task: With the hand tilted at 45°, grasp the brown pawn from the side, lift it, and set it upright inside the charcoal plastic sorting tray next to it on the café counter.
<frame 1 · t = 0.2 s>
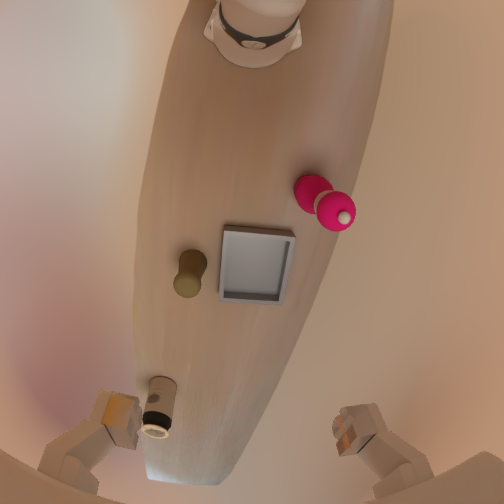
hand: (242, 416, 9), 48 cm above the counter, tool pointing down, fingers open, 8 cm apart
brown pawn: (193, 262, 59), on the counter
sorting tray: (254, 263, 60), on the counter
pepper mill: (308, 190, 55), on the counter
travel mug: (164, 383, 75), on the counter
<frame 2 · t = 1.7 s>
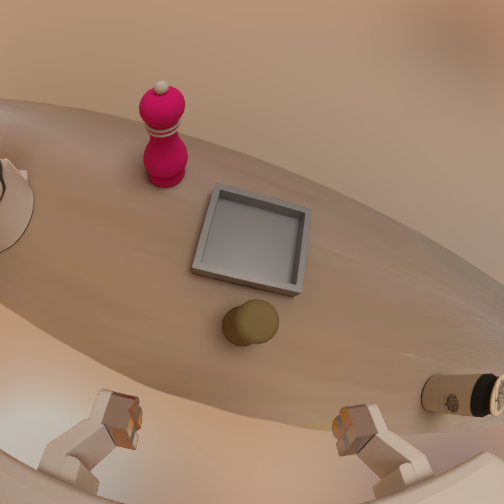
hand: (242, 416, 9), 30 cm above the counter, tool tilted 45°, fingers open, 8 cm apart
brown pawn: (242, 326, 40), on the counter
sorting tray: (252, 243, 45), on the counter
pepper mill: (166, 173, 46), on the counter
travel mug: (432, 393, 43), on the counter
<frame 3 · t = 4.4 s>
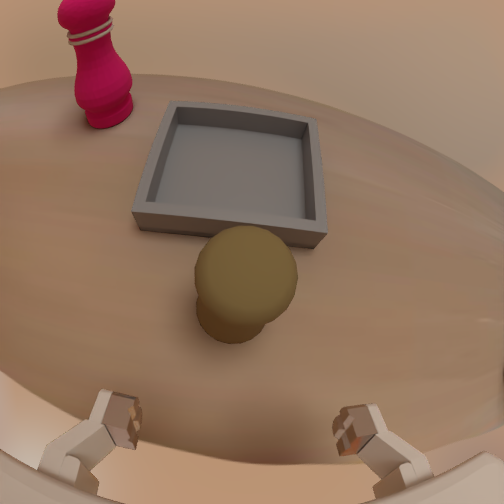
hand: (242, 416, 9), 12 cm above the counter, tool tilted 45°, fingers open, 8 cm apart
brown pawn: (232, 307, 23), on the counter
sorting tray: (234, 175, 27), on the counter
pepper mill: (110, 113, 29), on the counter
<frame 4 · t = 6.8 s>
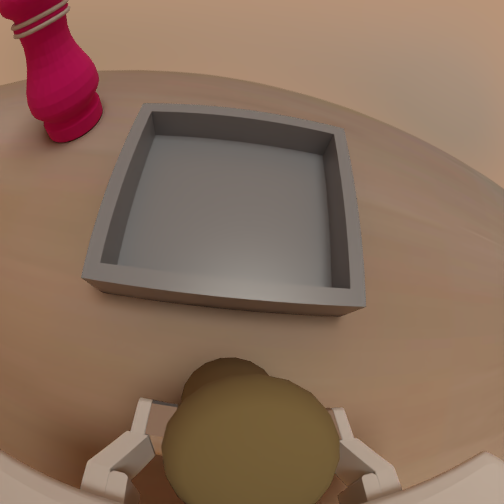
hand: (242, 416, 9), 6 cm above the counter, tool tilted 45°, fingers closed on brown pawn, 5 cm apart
brown pawn: (230, 403, 15), on the counter, touching gripper
sorting tray: (231, 209, 20), on the counter
pepper mill: (75, 122, 22), on the counter
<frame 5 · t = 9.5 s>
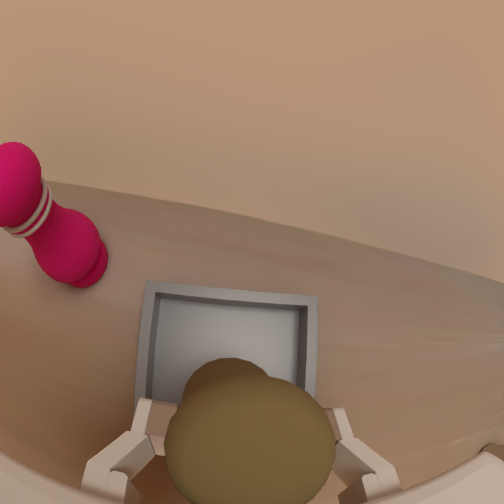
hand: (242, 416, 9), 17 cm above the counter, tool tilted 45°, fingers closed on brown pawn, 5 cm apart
brown pawn: (230, 402, 16), point 10 cm above the counter, touching gripper
sorting tray: (225, 365, 26), on the counter
pepper mill: (85, 261, 28), on the counter
travel mug: (480, 464, 22), on the counter
when the fingers open (8 cm above the counter, at t = 12.4 s): brown pawn stays where it is, resting on sorting tray.
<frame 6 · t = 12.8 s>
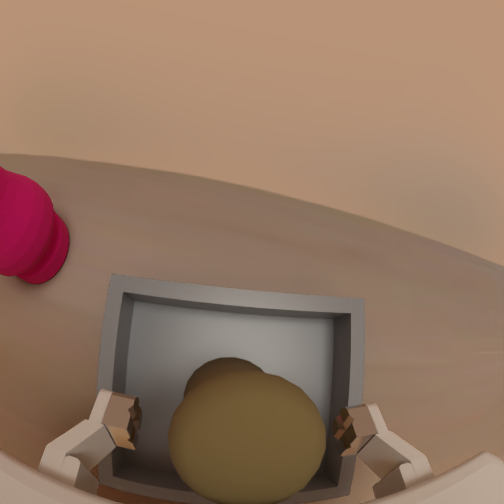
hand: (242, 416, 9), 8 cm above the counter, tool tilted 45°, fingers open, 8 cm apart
brown pawn: (229, 400, 16), point 1 cm above the counter, touching sorting tray
sorting tray: (229, 399, 17), on the counter
pepper mill: (42, 249, 19), on the counter
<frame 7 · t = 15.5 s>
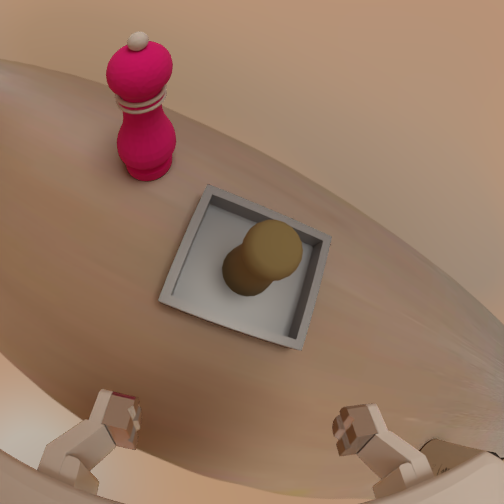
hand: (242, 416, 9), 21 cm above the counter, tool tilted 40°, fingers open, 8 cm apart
brown pawn: (247, 270, 33), point 1 cm above the counter, touching sorting tray
sorting tray: (246, 271, 33), on the counter
pepper mill: (149, 162, 34), on the counter
travel mug: (425, 457, 32), on the counter
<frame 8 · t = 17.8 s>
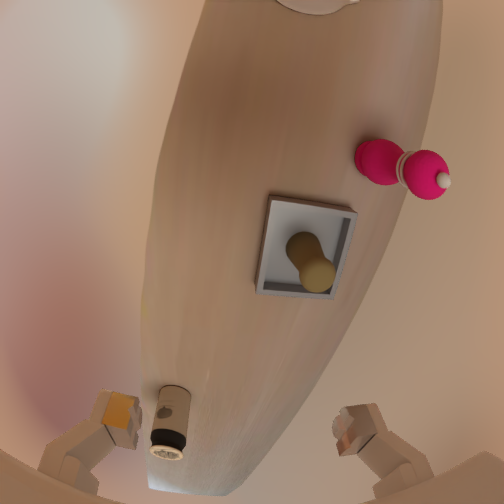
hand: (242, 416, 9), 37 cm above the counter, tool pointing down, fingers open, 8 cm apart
brown pawn: (302, 247, 47), point 1 cm above the counter, touching sorting tray
sorting tray: (301, 246, 47), on the counter
pepper mill: (370, 158, 42), on the counter
travel mug: (175, 393, 62), on the counter
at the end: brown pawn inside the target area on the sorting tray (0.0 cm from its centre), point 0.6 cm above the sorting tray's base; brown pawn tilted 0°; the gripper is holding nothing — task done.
